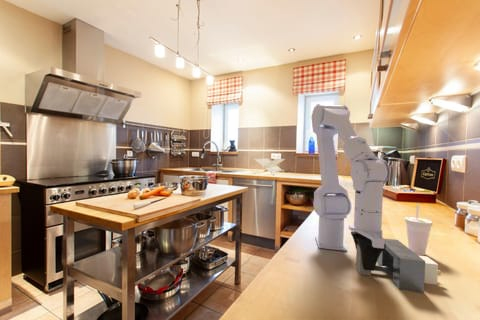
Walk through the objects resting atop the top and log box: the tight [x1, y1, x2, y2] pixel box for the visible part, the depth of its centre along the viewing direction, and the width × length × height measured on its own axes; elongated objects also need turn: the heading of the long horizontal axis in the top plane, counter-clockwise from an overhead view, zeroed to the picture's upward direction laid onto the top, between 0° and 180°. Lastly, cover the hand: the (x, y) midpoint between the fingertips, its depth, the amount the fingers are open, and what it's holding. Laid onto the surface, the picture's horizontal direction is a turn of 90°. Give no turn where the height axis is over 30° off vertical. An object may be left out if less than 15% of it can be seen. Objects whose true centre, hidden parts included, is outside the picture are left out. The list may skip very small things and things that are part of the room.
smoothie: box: [404, 204, 433, 256], centre depth 65 cm, size 6×6×14 cm
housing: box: [376, 237, 425, 293], centre depth 52 cm, size 12×4×6 cm, turn 168°
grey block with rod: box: [355, 244, 442, 286], centre depth 52 cm, size 4×16×6 cm, turn 78°
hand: (365, 265), depth 54 cm, fingers closed on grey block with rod, 3 cm apart
